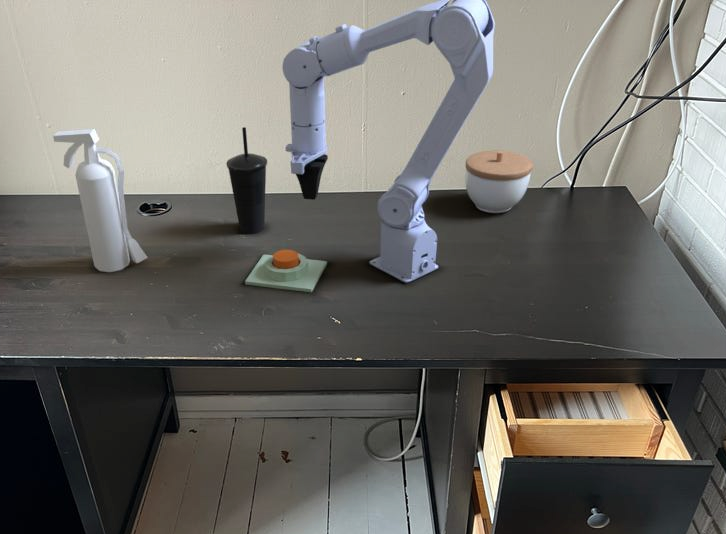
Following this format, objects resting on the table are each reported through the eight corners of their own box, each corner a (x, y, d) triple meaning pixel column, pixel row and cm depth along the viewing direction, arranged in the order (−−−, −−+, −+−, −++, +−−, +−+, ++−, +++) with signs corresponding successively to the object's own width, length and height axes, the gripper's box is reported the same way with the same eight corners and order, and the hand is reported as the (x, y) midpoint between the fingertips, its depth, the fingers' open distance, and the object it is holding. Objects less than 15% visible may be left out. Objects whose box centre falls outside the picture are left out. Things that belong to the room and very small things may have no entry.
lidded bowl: (537, 213, 144) (547, 159, 137) (478, 222, 142) (484, 168, 135) (507, 189, 154) (515, 137, 147) (451, 197, 152) (456, 145, 145)
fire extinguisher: (141, 276, 131) (115, 138, 117) (79, 271, 134) (46, 136, 119) (154, 258, 137) (131, 124, 122) (94, 253, 139) (65, 122, 124)
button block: (326, 264, 132) (326, 252, 130) (311, 292, 124) (311, 279, 122) (263, 257, 135) (262, 245, 133) (245, 284, 127) (243, 272, 126)
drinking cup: (273, 220, 147) (267, 120, 135) (269, 237, 141) (262, 134, 129) (236, 220, 148) (226, 121, 136) (230, 237, 142) (219, 135, 130)
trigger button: (301, 259, 129) (301, 250, 128) (294, 271, 126) (294, 262, 125) (278, 256, 130) (277, 248, 129) (270, 268, 127) (269, 260, 126)
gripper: (297, 106, 129) (300, 180, 137) (271, 134, 118) (276, 213, 126) (336, 108, 127) (337, 182, 135) (313, 137, 116) (315, 216, 124)
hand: (310, 197), depth 130 cm, fingers closed
